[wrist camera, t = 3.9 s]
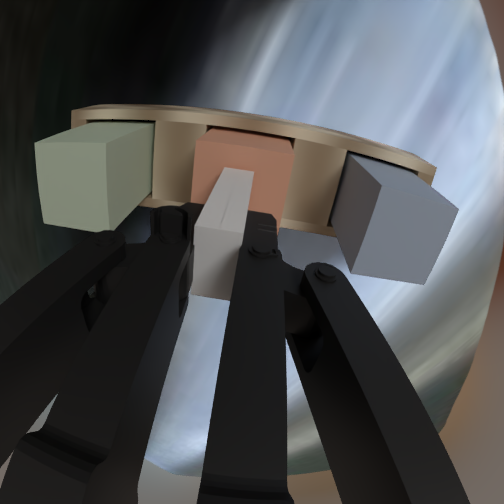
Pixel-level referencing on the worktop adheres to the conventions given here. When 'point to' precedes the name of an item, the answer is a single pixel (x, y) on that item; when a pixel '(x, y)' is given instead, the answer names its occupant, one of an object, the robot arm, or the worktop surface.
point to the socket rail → (301, 135)
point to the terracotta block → (245, 165)
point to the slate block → (389, 220)
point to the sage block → (95, 173)
